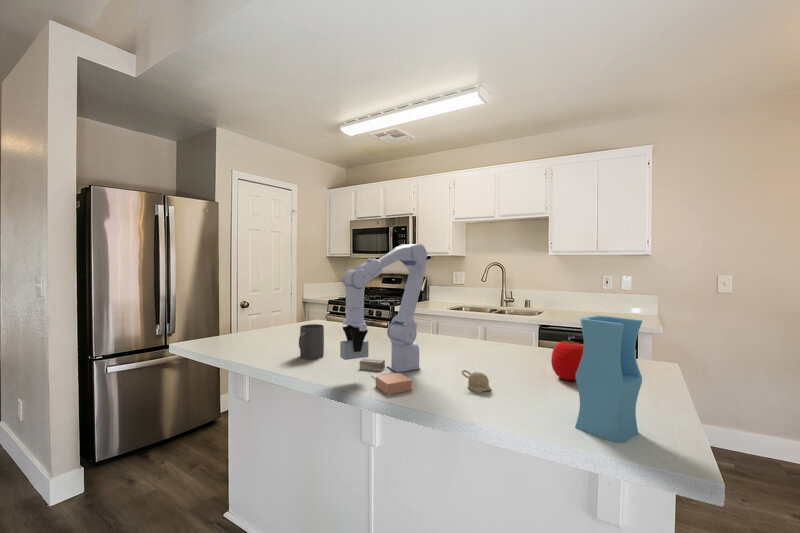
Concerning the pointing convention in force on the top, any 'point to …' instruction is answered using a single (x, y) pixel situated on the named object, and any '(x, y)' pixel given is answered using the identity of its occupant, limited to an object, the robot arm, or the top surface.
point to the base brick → (393, 383)
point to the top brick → (352, 350)
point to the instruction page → (382, 374)
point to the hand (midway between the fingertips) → (354, 349)
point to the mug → (311, 341)
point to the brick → (372, 364)
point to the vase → (609, 378)
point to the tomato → (566, 359)
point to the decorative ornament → (477, 381)
